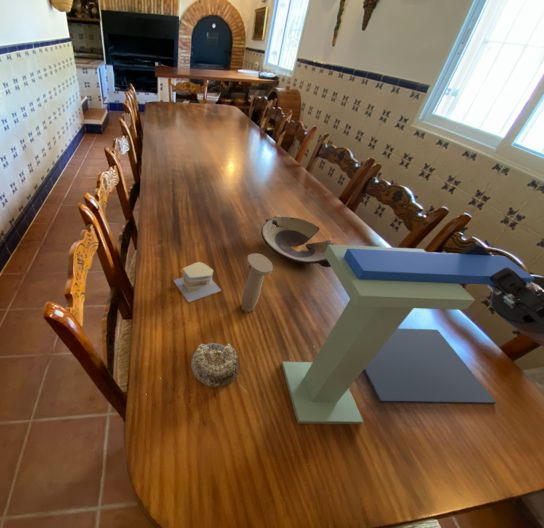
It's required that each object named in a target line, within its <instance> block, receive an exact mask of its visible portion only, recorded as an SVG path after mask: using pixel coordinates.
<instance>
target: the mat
mask: <svg viewBox="0 0 544 528" xmlns="http://www.w3.org/2000/svg"><path fill="white" fill-rule="evenodd" d="M363 372H364V374H365V377H366V378H367V380H368V382H369V384H370V386H371V388H372V390H373V392H374V394H375V396H376V398H377V400H378V401H379V403H404V404H405V403H412V404H413V403H414V404H473V405H475V404H476V405H477V404H481V405H496V404H497V401H496V400H495V399H494V398H493V396H492V395H491V394H490V393H489V392H488V390H487V389H486V388H485V386H484V385H483V384H482V383H481V381H480V380H479V379H478V378H477V376H476V375H475V374H474V373H473V371H472V370H471V369H470V368H469V367H468V365H467V364H466V363H465V361H464V360H463V359H462V358H461V357H460V355H459V354H458V353H457V351H455V349H454V348H453V347H452V346H451V344H450V343H449V342H448V341H447V340H446V338H445V337H444V336H443V334H442V333H441V331H439V329H435V328H433V329H431V328H403V327H402V328H399V327H398V328H397V329H396V331H395V332H394V333H393V334H392V336H391V337H390V338H389V339H388V340H387V342H386V343H385V344H384V345H383V347H382V348H381V349H380V350H379V352H378V353H377V354H376V355H375V356H374V358H373V359H372V360H371V361H370V363H369V364H368V365H367V366H366V368H365V369H364V370H363Z"/></svg>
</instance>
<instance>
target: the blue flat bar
mask: <svg viewBox="0 0 544 528" xmlns="http://www.w3.org/2000/svg"><path fill="white" fill-rule="evenodd" d="M344 258H345V259H346V261H347V262H348V264H349V265H350V267H351V268H352V270H353V271H354V273H355V274H356V276H357V277H358V279H366V280H390V281H414V282H438V283H458V284H461V285H463V284H464V285H487V286H488V285H496V284H495V283H494V282H492V281H491V280H490V277H491V276H492V275H493V274H495V273H497V272H499V271H500V270H502V269H504V268H507V267H509V268H511V269H512V270H513V271H515V272H516V273H517V274H518V275H519V276H520V277H521V278H522V279H523V280H524V281H526V282H527V283H530V282H531V281H532V280H534V279H535V278H534V277H533V276H531V275H532V274H530V273H529V272H527V271H526V270H524V268H522V267H520V266H519V265H518V264H516V263H515V262H514V261H512V260H511V259H510V258H509V257H507V256H506V255H494V254H493V255H472V254H460V253H451V252H450V253H449V252H448V253H447V252H431V251H429V252H428V251H426V252H410V251H389V250H368V249H347V251H346V253H345V255H344Z"/></svg>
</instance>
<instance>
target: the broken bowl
mask: <svg viewBox="0 0 544 528" xmlns="http://www.w3.org/2000/svg"><path fill="white" fill-rule="evenodd" d="M273 225H274V226H273ZM320 230H321V228H320V226H317V225H316V224H315V223H313V222H310V221H308V220H307V219H303V218H298V217H291V216H277V215H275V216H273V217H272V218H266V219H265V222H264V223H263V225H262V226H261V231H260V235H261V238H262V240H263V242H264V244H265V245H266V246H267V247H268V248H269V249H270V250H271V251H272V252H273V253H274V254H276V255H278V256H280V257H281V258H283V259H284V260H285V259H286V260H288V261H291V262H294V263H299V264H304V265H310V264H311V265H316V264H318V265H320V266H321V267H323V268H332V267H331V265H330V264H329V262H328V260H327V259H326V257H325V255H324V254H325V251H326V249H327V247H328V245H335V243H334V242H332V241H331V240H329V239H327V240H323V241H318V242H311V243H308V242H309V241H310V240H311V239H312V238H313V237H315V236H316V234H318V232H319V231H320ZM302 245H305V247H306V249H307V250H303V249H302V248H300V249H302V250H299V251H298V250H297V249H295V248H293V247H298V246H302Z"/></svg>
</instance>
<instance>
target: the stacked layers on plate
mask: <svg viewBox="0 0 544 528" xmlns="http://www.w3.org/2000/svg"><path fill="white" fill-rule="evenodd" d="M182 270H183V271H182V275H183V276H182V277H179V278H176V279H173V280H172V281H173V283H174V284H175V286H176V287H177V288H178V290H179V291H180V293H181V294H182V295H183V298H184V299H185V300H186V301H187V302H188V303H192V302H194V301H197V300H199V299H203V298H205V297H208V296H211V295H214V294H217V293H219V292H221V291H222V289H221V288H220V287H219V286H218V284H216V282H215V281H214V280H213V276H214V269H213V268H211V267H210V266H209V265H207V264H205V263H204V262H201V261H196V262H194V263H192V264H189V265H187V266H185V267H183V268H182Z"/></svg>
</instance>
